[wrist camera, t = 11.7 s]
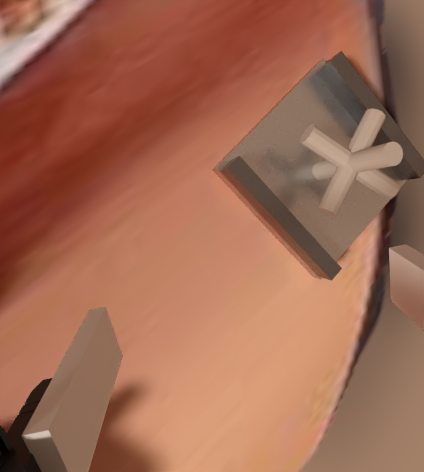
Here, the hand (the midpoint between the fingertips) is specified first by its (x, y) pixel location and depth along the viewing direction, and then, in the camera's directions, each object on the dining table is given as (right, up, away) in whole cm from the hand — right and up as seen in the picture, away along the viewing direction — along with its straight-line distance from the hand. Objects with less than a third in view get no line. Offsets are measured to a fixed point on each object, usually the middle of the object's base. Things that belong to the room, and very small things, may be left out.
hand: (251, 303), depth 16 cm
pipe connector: (+9, +10, +20) cm, 24 cm away
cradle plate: (+9, +10, +21) cm, 25 cm away
